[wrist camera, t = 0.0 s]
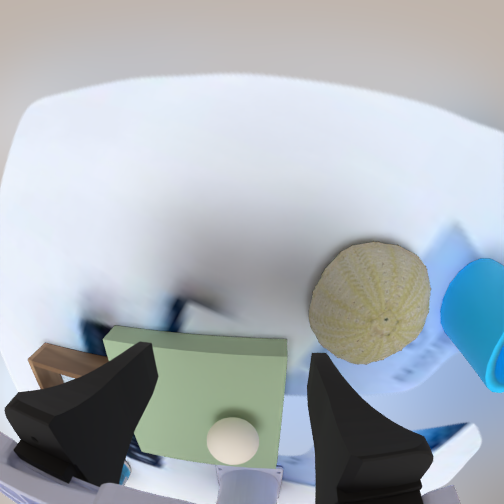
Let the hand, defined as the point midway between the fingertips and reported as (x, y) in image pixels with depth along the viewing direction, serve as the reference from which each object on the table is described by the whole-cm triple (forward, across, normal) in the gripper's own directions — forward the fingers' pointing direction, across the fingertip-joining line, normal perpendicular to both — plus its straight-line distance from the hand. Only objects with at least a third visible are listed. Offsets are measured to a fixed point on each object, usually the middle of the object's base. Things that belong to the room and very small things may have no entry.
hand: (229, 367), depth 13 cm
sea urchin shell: (+10, -9, +1) cm, 14 cm away
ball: (+6, +1, +13) cm, 14 cm away
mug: (+10, -22, +1) cm, 24 cm away
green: (+10, +4, +13) cm, 17 cm away
